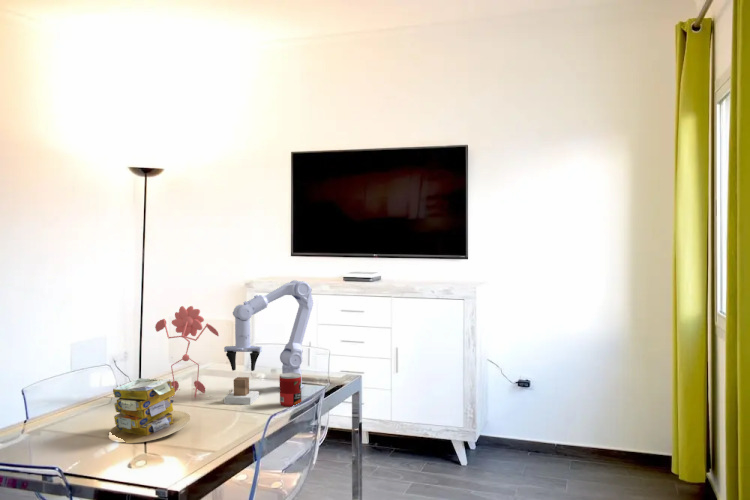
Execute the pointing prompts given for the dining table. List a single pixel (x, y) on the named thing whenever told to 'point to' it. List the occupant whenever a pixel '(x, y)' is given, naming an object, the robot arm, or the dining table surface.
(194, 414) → the dining table surface
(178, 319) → the figurine
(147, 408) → the stacked yellow food packages
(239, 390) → the walnut block
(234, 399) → the grey plinth
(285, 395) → the canned food
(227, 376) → the dining table surface
